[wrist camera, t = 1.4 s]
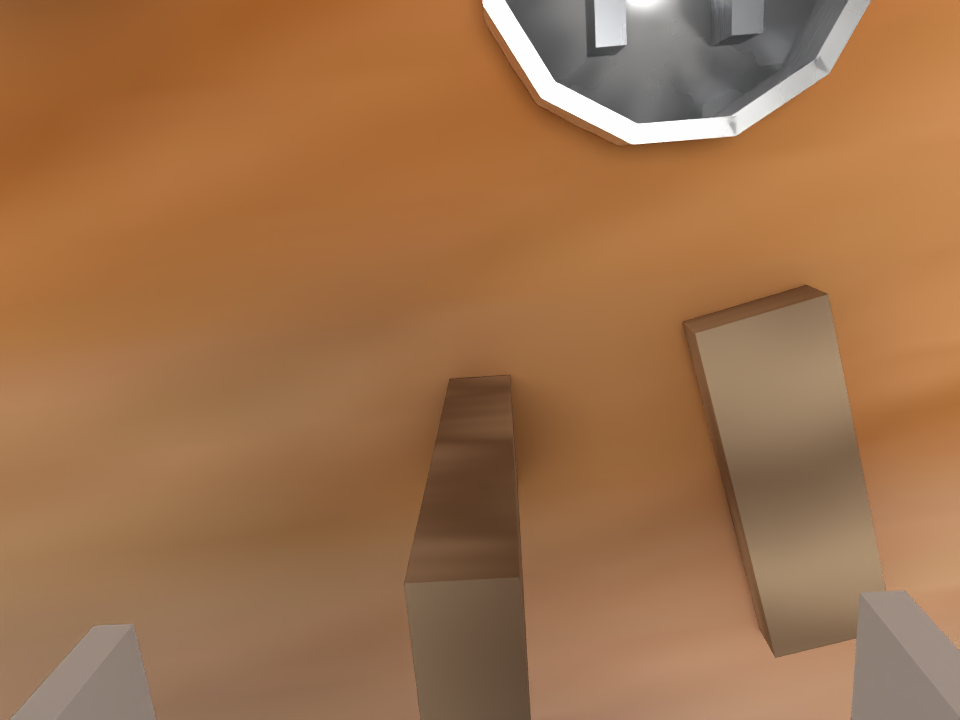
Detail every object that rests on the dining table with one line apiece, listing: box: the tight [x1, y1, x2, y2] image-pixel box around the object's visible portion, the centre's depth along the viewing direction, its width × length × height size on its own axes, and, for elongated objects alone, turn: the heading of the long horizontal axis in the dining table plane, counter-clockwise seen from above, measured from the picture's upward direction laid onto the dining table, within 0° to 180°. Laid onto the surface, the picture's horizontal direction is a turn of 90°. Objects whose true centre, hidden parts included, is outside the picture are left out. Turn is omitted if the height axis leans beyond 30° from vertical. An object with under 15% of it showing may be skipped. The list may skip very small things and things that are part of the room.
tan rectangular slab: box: [683, 285, 886, 658], centre depth 24 cm, size 12×4×2 cm, turn 18°
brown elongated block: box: [404, 375, 531, 720], centre depth 19 cm, size 2×4×12 cm, turn 5°
